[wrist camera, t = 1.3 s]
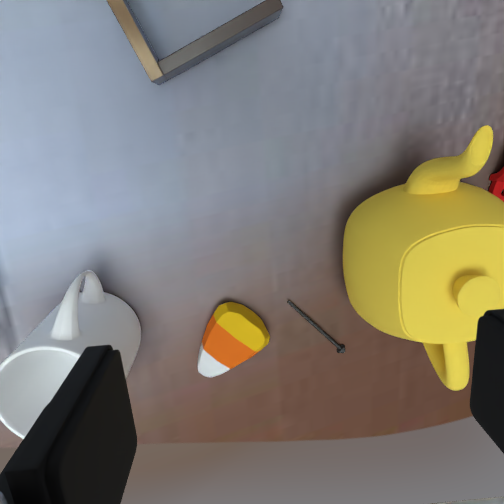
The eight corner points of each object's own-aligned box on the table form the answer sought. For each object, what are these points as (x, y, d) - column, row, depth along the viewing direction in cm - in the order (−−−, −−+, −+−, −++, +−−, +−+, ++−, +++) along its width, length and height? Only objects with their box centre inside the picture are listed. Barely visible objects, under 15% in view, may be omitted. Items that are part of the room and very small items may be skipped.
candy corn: (276, 341, 37) (223, 399, 39) (276, 327, 40) (227, 382, 42) (224, 302, 37) (173, 363, 39) (228, 291, 40) (180, 348, 41)
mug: (150, 260, 38) (120, 310, 28) (139, 372, 41) (109, 453, 31) (54, 247, 37) (-13, 293, 27) (51, 362, 41) (-9, 442, 30)
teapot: (479, 115, 35) (604, 110, 23) (471, 322, 41) (567, 402, 30) (325, 135, 35) (372, 141, 23) (339, 340, 41) (382, 428, 29)
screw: (338, 356, 41) (340, 349, 42) (346, 353, 41) (347, 345, 41) (282, 306, 39) (285, 299, 40) (289, 302, 39) (292, 295, 40)
